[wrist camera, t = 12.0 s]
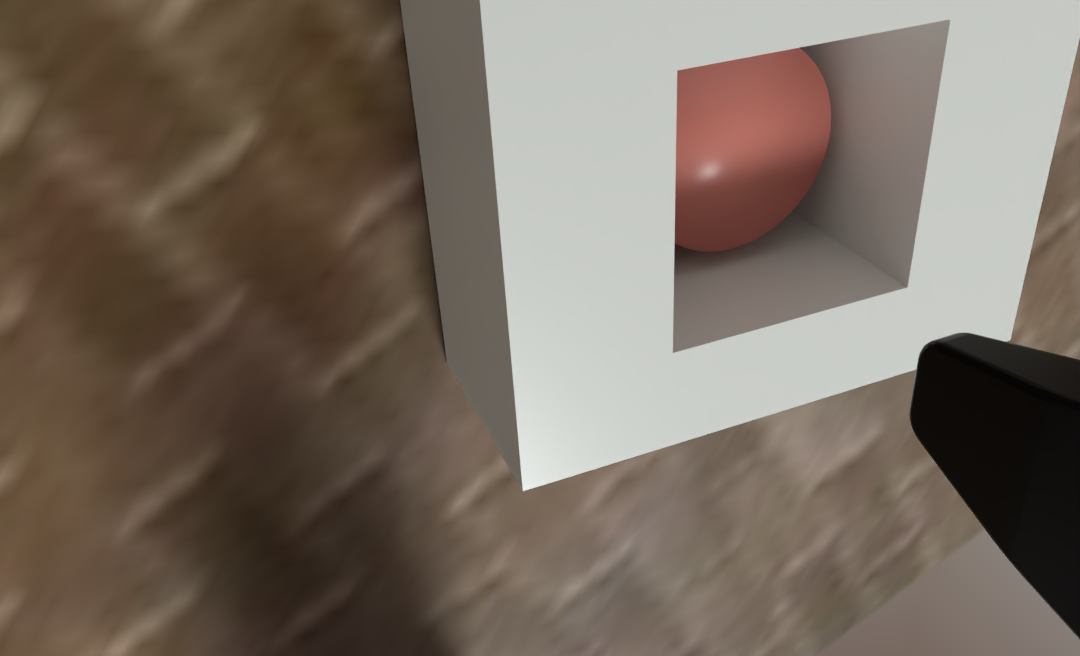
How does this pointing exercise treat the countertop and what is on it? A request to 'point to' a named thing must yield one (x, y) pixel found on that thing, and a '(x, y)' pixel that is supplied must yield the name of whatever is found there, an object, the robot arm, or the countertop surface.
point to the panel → (730, 275)
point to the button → (746, 146)
